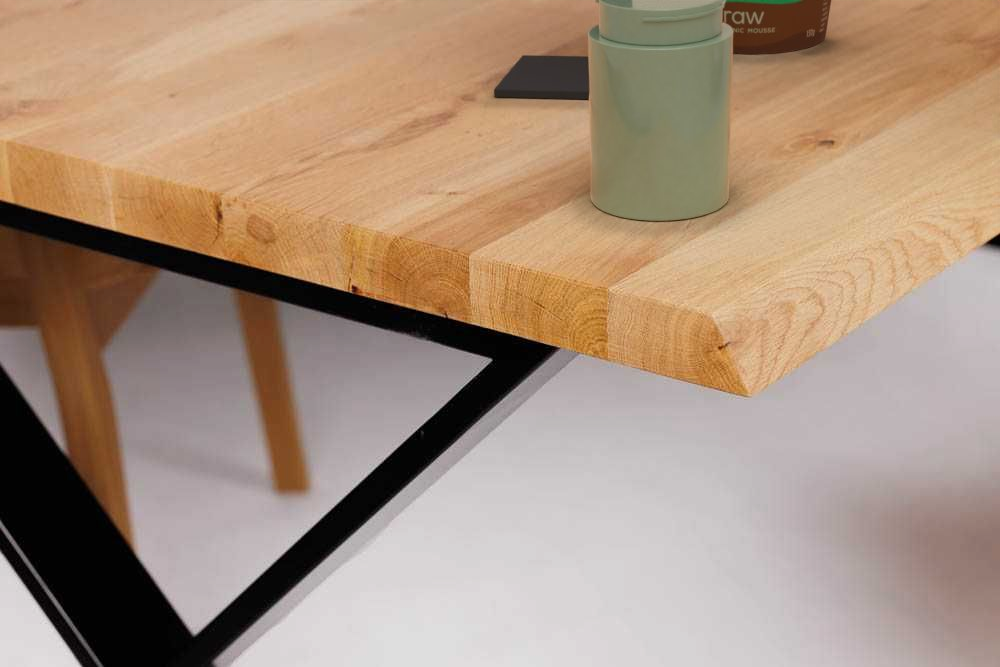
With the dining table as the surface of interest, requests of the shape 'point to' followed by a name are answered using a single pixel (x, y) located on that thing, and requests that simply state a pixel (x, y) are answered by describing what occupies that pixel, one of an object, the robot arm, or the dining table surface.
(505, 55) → the dining table surface
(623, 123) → the jar
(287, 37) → the dining table surface
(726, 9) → the food container
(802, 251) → the dining table surface
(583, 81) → the mat
